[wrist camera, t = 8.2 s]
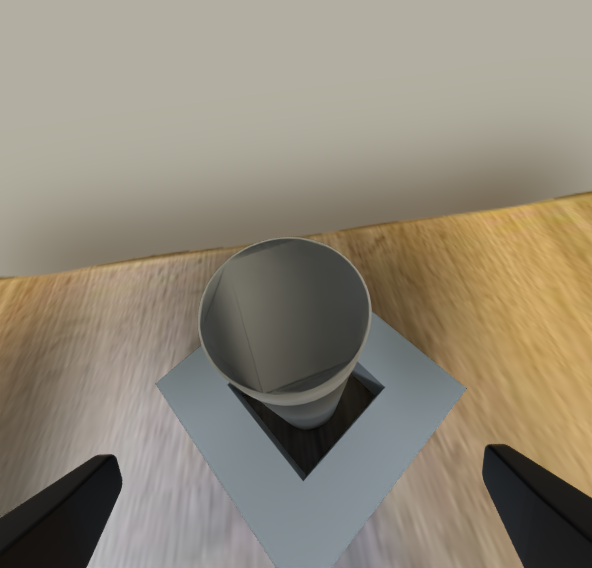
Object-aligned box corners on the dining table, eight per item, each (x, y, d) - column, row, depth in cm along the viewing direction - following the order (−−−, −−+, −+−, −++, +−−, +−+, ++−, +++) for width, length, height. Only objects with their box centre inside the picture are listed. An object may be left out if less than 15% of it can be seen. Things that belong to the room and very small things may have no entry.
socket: (305, 575, 13) (301, 606, 11) (179, 392, 18) (155, 383, 15) (443, 397, 16) (466, 388, 14) (307, 281, 21) (306, 257, 18)
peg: (323, 443, 16) (331, 435, 5) (264, 412, 17) (162, 347, 6) (347, 379, 17) (394, 266, 6) (292, 354, 18) (251, 219, 7)
